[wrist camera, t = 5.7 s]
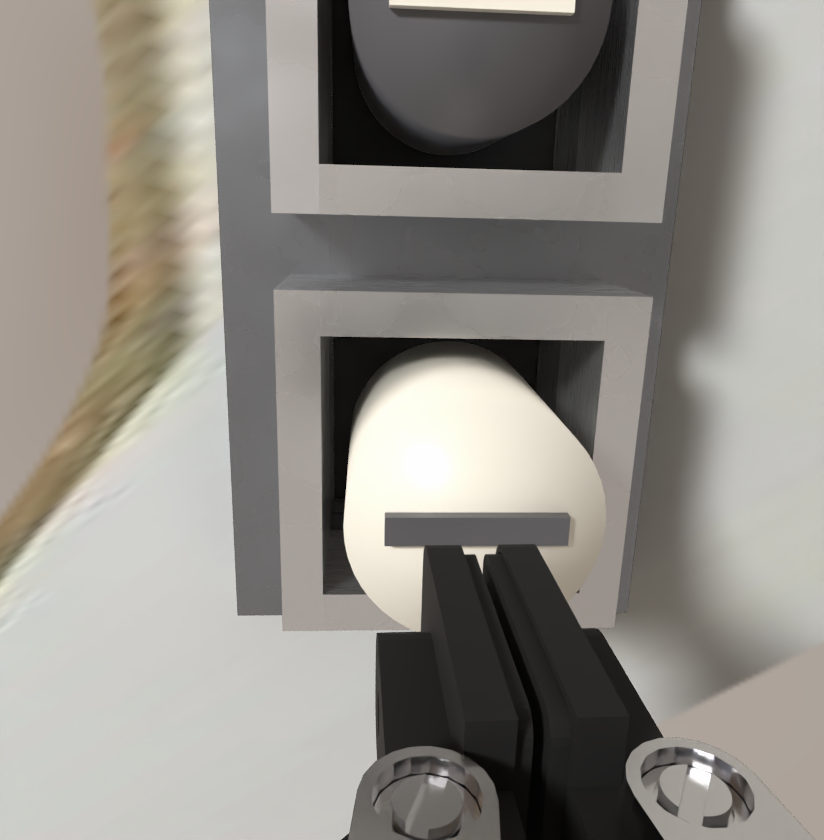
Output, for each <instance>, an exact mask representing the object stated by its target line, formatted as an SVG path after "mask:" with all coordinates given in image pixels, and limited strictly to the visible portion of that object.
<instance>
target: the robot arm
mask: <svg viewBox="0 0 824 840" xmlns="http://www.w3.org/2000/svg"><path fill="white" fill-rule="evenodd" d="M376 744H377V761H375V763H374V764H373V765H372V766H371V767H370V768H369V769H368V770H367V771H366V772H365V774H364V775H363V777H362V780H361V782H360V785H359V787H358V790H357V794H356V800H355V805H354V811H353V816H352V821H351V827H350V832H349V834H348V835H346V836H345V837H344V838H343V839H342V840H815V839H814V838H813V837H812V836H811V835H810V833H809V832H808V831H807V830H806V829H805V828H804V827H803V826H802V825H801V823H800V822H799V821H798V820H797V819H796V818H795V817H794V816H793V815H792V814H791V813H790V811H789V810H788V809H787V808H786V807H785V806H784V805H783V804H782V803H781V802H780V801H779V799H778V798H777V797H776V796H775V795H774V794H773V793H772V792H771V791H770V790H769V789H768V788H767V786H766V785H765V784H764V783H763V782H762V781H761V780H760V779H759V778H758V776H756V774H754V773H753V772H752V771H751V770H750V769H749V768H748V767H746V766H745V765H744V764H743V763H742V762H741V761H740V760H738V759H736V758H735V757H733V756H731V755H730V754H728V753H726V752H724V751H722V750H721V749H719V748H716V747H713V746H711V745H708V744H705V743H702V742H700V741H695V740H690V739H684V738H664V737H663V736H662V734H661V732H660V731H659V729H658V727H657V726H656V724H655V722H654V720H653V719H652V717H651V715H650V714H649V712H648V710H647V709H646V707H645V705H644V704H643V702H642V700H641V698H640V697H639V695H638V693H637V692H636V690H635V688H634V687H633V685H632V683H631V681H630V680H629V678H628V676H627V675H626V673H625V671H624V670H623V668H622V666H621V664H620V663H619V661H618V659H617V658H616V656H615V654H614V653H613V651H612V649H611V648H610V646H609V644H608V642H607V641H606V639H605V637H604V636H603V634H602V633H601V632H600V631H599V629H596V628H581V626H580V624H579V623H578V621H577V619H576V617H575V615H574V613H573V612H572V610H571V608H570V606H569V604H568V602H567V601H566V599H565V597H564V595H563V593H562V591H561V590H560V588H559V586H558V584H557V582H556V581H555V579H554V577H553V575H552V573H551V571H550V570H549V568H548V566H547V564H546V562H545V560H544V559H543V557H542V555H541V553H540V551H539V549H538V548H537V546H536V545H535V544H500V545H498V546H497V549H496V554H485V556H484V560H483V573H482V571H481V568H480V566H479V563H478V560H477V557H476V555H475V554H464V552H463V549H462V546H461V545H425V547H424V553H423V576H422V607H421V632H391V633H377V637H376Z"/></svg>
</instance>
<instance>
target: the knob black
mask: <svg viewBox="0 0 824 840" xmlns="http://www.w3.org/2000/svg"><path fill="white" fill-rule="evenodd" d="M348 3H349V15H350V26H351V36H352V46H353V56H354V65H355V71H356V76H357V80H358V84H359V87H360V90H361V93H362V95H363V97H364V99H365V102H366V104H367V105H368V107H369V109H370V110H371V112H372V114H373V115H374V116H375V118H376V119H377V120H378V122H379V123H380V124H381V125H382V126H383V127H384V128H385V129H386V130H387V131H388V132H389V133H390V134H391V135H393V136H394V137H395V138H397V139H398V140H399V141H401V142H403V143H404V144H406V145H408V146H410V147H412V148H414V149H417V150H419V151H422V152H426V153H430V154H436V155H460V154H466V153H470V152H473V151H476V150H480V149H482V148H484V147H486V146H488V145H490V144H492V143H494V142H497V141H499V140H501V139H503V138H505V137H507V136H509V135H511V134H513V133H515V132H517V131H519V130H521V129H524V128H526V127H528V126H530V125H532V124H534V123H536V122H538V121H540V120H541V119H543V118H544V117H546V116H547V115H549V114H550V113H552V112H553V111H555V110H556V109H557V108H558V107H559V106H560V105H561V104H563V103H564V102H565V101H566V100H567V99H568V98H569V97H570V96H571V95H572V93H573V92H574V91H575V90H576V89H577V88H578V87H579V85H580V84H581V83H582V81H583V80H584V78H585V77H586V75H587V74H588V73H589V71H590V69H591V67H592V65H593V63H594V62H595V60H596V58H597V56H598V54H599V51H600V49H601V46H602V44H603V41H604V38H605V35H606V31H607V27H608V24H609V20H610V13H611V7H612V0H348Z"/></svg>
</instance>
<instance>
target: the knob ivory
mask: <svg viewBox="0 0 824 840" xmlns="http://www.w3.org/2000/svg"><path fill="white" fill-rule="evenodd" d="M605 527H606V503H605V494H604V490H603V486H602V482H601V479H600V476H599V474H598V472H597V469H596V467H595V464H594V463H593V461H592V459H591V458H590V456H589V454H588V453H587V451H586V450H585V448H584V447H583V446H582V445H581V444H580V442H579V441H578V440H577V439H576V437H575V436H574V435H573V434H572V433H571V432H570V431H569V430H568V428H567V427H566V426H565V425H564V424H563V423H562V422H561V420H560V419H559V418H558V417H557V416H556V415H555V414H554V413H553V411H552V410H551V409H550V408H549V407H548V406H547V405H546V404H545V402H544V401H543V400H542V399H541V398H540V397H539V396H538V394H537V393H536V392H535V391H534V390H533V389H532V388H531V387H530V385H529V384H528V383H527V382H526V381H525V380H524V379H523V378H522V376H521V375H520V374H519V373H518V372H517V371H516V370H515V369H514V368H513V367H512V366H511V365H510V364H509V363H508V362H507V361H505V360H504V359H502V358H501V357H500V356H498V355H497V354H495V353H493V352H491V351H489V350H487V349H485V348H482V347H479V346H476V345H473V344H469V343H464V342H455V341H439V342H431V343H426V344H422V345H419V346H415V347H412V348H410V349H408V350H406V351H403V352H401V353H399V354H398V355H396V356H395V357H393V358H391V359H390V360H389V361H387V362H386V363H385V364H384V365H383V366H381V367H380V368H379V369H378V370H377V371H376V372H375V373H374V374H373V376H372V377H371V378H370V379H369V381H368V382H367V384H366V385H365V386H364V388H363V390H362V392H361V394H360V396H359V397H358V400H357V403H356V405H355V408H354V411H353V416H352V421H351V432H350V445H349V458H348V471H347V484H346V497H345V510H344V524H343V529H344V543H345V547H346V552H347V556H348V560H349V562H350V565H351V568H352V570H353V573H354V575H355V577H356V578H357V580H358V582H359V584H360V586H361V587H362V589H363V590H364V591H365V593H366V594H367V595H368V597H369V598H370V599H371V600H372V601H373V602H374V603H375V604H376V605H377V606H378V607H379V608H380V609H381V610H382V611H383V612H384V613H386V614H387V615H388V616H389V617H391V618H392V619H393V620H395V621H397V622H398V623H400V624H402V625H403V626H405V627H407V628H409V629H411V630H414V631H416V632H421V607H422V576H423V553H424V547H425V545H461V546H462V549H463V552H464V554H475V555H476V557H477V560H478V563H479V566H480V568H481V571H482V573H483V560H484V556H485V554H496V549H497V546H498V545H500V544H535V545H536V546H537V548H538V549H539V551H540V553H541V555H542V557H543V559H544V560H545V562H546V564H547V566H548V568H549V570H550V571H551V573H552V575H553V577H554V579H555V581H556V582H557V584H558V586H559V588H560V590H561V591H562V593H563V595H564V597H565V599H566V601H567V602H568V601H569V600H570V599H571V598H572V597H573V596H574V595H575V594H576V592H577V591H578V590H579V589H580V587H581V586H582V585H583V584H584V582H585V580H586V579H587V577H588V576H589V574H590V573H591V571H592V569H593V567H594V565H595V562H596V560H597V558H598V556H599V553H600V549H601V546H602V543H603V539H604V533H605Z"/></svg>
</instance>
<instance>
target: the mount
mask: <svg viewBox="0 0 824 840" xmlns="http://www.w3.org/2000/svg"><path fill="white" fill-rule="evenodd" d="M701 2H702V0H612V7H611V13H610V20H609V24H608V27H607V31H606V35H605V38H604V41H603V44H602V46H601V49H600V51H599V54H598V56H597V58H596V60H595V62H594V63H593V65H592V67H591V69H590V71H589V73H588V74H587V75H586V77H585V78H584V80H583V81H582V83H581V84H580V85H579V87H578V88H577V89H576V90H575V91H574V92H573V93H572V95H571V96H570V97H569V98H568V99H567V100H566V101H565V102H564V103H563V104H561V105H560V106H559V107H558V108H557V119H556V132H555V145H554V159H553V171H536V170H502V169H469V168H436V167H402V166H369V165H335V164H333V154H332V0H209V11H210V33H211V54H212V76H213V97H214V119H215V140H216V162H217V183H218V204H219V226H220V247H221V269H222V290H223V312H224V333H225V355H226V376H227V397H228V419H229V440H230V462H231V483H232V505H233V526H234V548H235V569H236V590H237V612H238V615H282V623H283V631H328V630H411V629H409V628H407V627H405V626H403V625H402V624H400V623H398V622H397V621H395V620H393V619H392V618H391V617H389V616H388V615H387V614H386V613H384V612H383V611H382V610H381V609H380V608H379V607H378V606H377V605H376V604H375V603H374V602H373V601H372V600H371V599H370V598H369V597H368V595H367V594H366V593H365V591H364V590H363V589H362V587H361V586H360V584H359V582H358V580H357V578H356V577H355V575H354V573H353V570H352V568H351V565H350V562H349V560H348V556H347V552H346V547H345V543H344V529H343V524H344V510H345V498H334V373H333V337H397V338H461V339H526V340H540V344H539V357H538V371H537V384H536V393H537V394H538V396H539V397H540V398H541V399H542V400H543V401H544V402H545V404H546V405H547V406H548V407H549V408H550V409H551V410H552V411H553V413H554V414H555V415H556V416H557V417H558V418H559V419H560V420H561V422H562V423H563V424H564V425H565V426H566V427H567V428H568V430H569V431H570V432H571V433H572V434H573V435H574V436H575V437H576V439H577V440H578V441H579V442H580V444H581V445H582V446H583V447H584V448H585V450H586V451H587V453H588V454H589V456H590V458H591V459H592V461H593V463H594V464H595V467H596V469H597V472H598V474H599V476H600V479H601V482H602V486H603V490H604V494H605V503H606V527H605V533H604V539H603V543H602V546H601V549H600V553H599V556H598V558H597V560H596V562H595V565H594V567H593V569H592V571H591V573H590V574H589V576H588V577H587V579H586V580H585V582H584V584H583V585H582V586H581V587H580V589H579V590H578V591H577V592H576V594H575V595H574V596H573V597H572V598H571V599H570V600H569V601H568V604H569V606H570V608H571V610H572V612H573V613H574V615H575V617H576V619H577V621H578V623H579V624H580V626H581V628H614V626H615V618H616V612H627V607H628V599H629V591H630V583H631V574H632V566H633V558H634V550H635V542H636V534H637V525H638V517H639V509H640V501H641V493H642V484H643V476H644V468H645V460H646V452H647V443H648V435H649V427H650V419H651V411H652V403H653V394H654V386H655V378H656V370H657V362H658V353H659V345H660V337H661V329H662V321H663V313H664V304H665V296H666V288H667V280H668V272H669V263H670V255H671V247H672V239H673V231H674V222H675V214H676V206H677V198H678V190H679V182H680V173H681V165H682V157H683V149H684V141H685V132H686V124H687V116H688V108H689V100H690V92H691V83H692V75H693V67H694V59H695V51H696V42H697V34H698V26H699V18H700V10H701Z"/></svg>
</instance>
